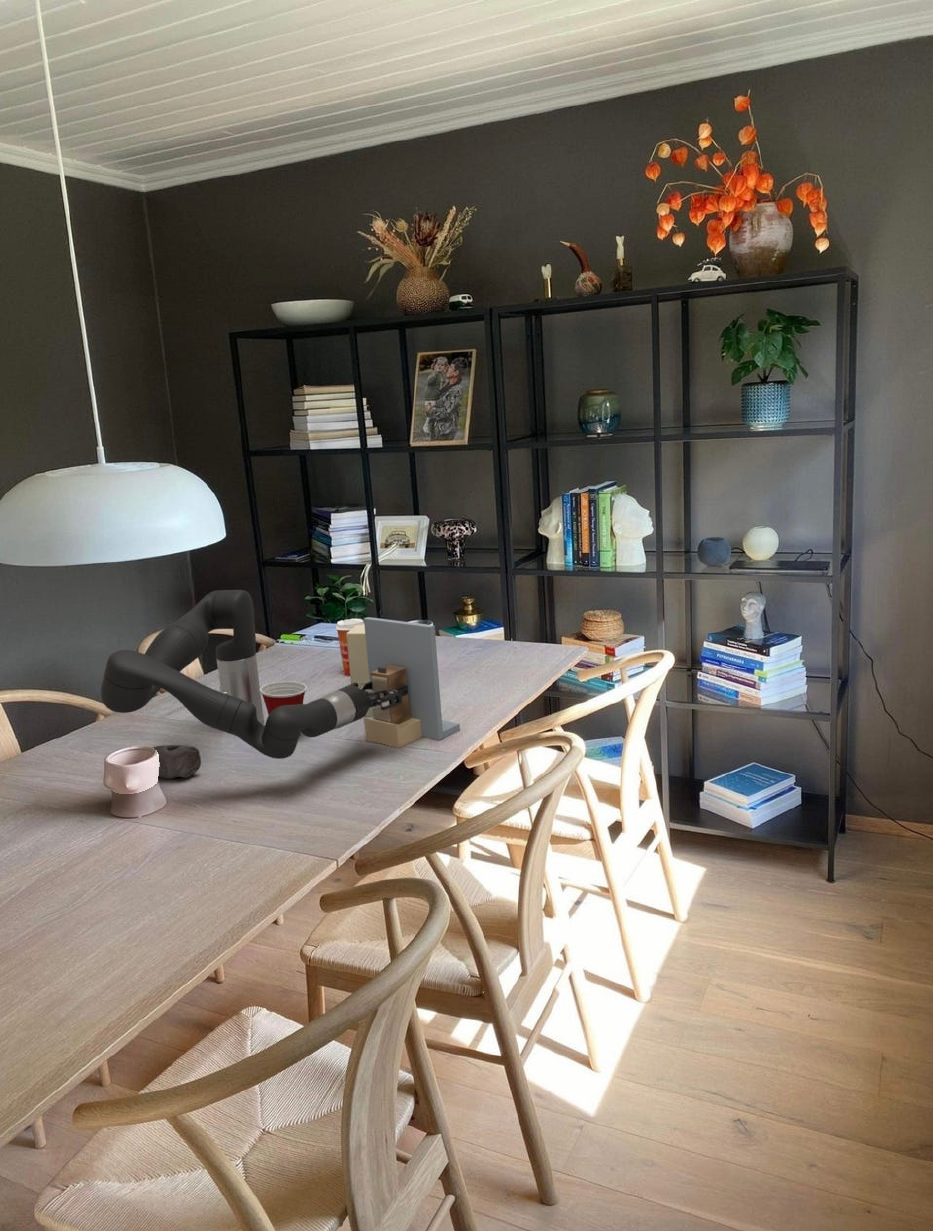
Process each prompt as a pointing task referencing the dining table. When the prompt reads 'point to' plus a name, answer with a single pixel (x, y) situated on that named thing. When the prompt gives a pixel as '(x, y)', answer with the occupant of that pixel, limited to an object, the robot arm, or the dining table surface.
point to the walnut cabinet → (390, 680)
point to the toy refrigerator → (358, 657)
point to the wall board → (419, 657)
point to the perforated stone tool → (178, 761)
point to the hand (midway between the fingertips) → (392, 686)
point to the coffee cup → (343, 629)
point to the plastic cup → (282, 694)
